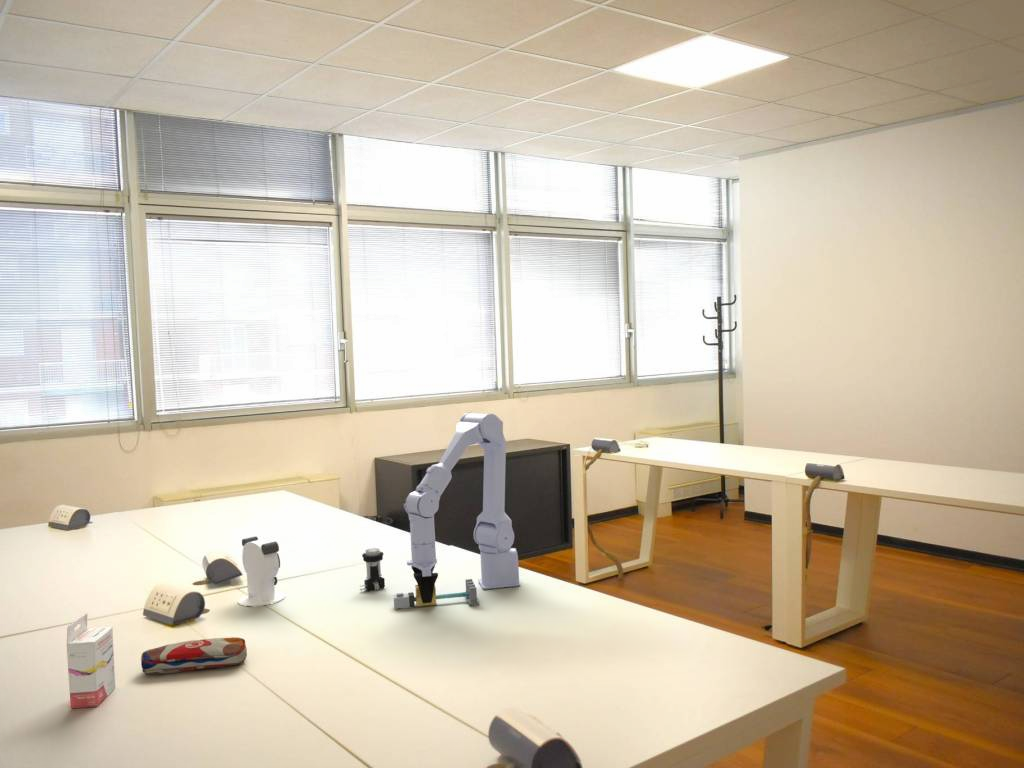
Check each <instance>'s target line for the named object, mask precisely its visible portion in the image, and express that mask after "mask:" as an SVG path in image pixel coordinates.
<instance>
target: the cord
mask: <svg viewBox="0 0 1024 768" xmlns="http://www.w3.org/2000/svg"><path fill="white" fill-rule="evenodd" d="M465 596H468V592H466V591H463V592H454V593H444V594H436V600H443V599H452V598H453V599H455V598H462V597H463V598H465ZM416 601H417V597H416V596H414V602H416Z"/></svg>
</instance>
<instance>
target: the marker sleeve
mask: <svg viewBox="0 0 1024 768" xmlns="http://www.w3.org/2000/svg"><path fill="white" fill-rule="evenodd" d="M414 585H415V586H414V587H415V597H417V601H415V605H416V606H417V608H418V607H429V606H436V605H437V599H436V595H437V593H436V591H437V590H436V584H435V585H434V590H433V597H432V602H431V603H422V599H421V595H420V590H419V586H418V584H414Z"/></svg>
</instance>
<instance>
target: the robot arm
mask: <svg viewBox="0 0 1024 768" xmlns="http://www.w3.org/2000/svg"><path fill="white" fill-rule="evenodd" d="M506 441H507V440H506V438H505V434H504V422H503V421H502V419H501V418H500V417H498V416H497V415H496V414H495V413H478V412H477V413H476V412H475V413H474V412H472V411H471V412H466V413H464V414H463V415H462V416H461V418H460V420H459V422H457V423H456V425H455V433H454V435H453V437H452V438H451V440H450V442H449V443H448V446H447V448H446V450H445V451H444V453H443V455H442V456H441V458H440V460H439V462H438V463H435V464H432V465H431V466H429V467H428V468H427V469H426V471H425V472H426V473H425V475H424V476H423V478H422V480H421V481H420V483H419V484H418V485H416V488H415V490H414V491H412V492H410V493H409V494H408V496H406V499H405V503H403V508H404V510H405V512H406V514H407V515H408V521H409V529H410V547H411V548H410V550H411V553H410V554H411V560H407V561H406V565H407V566H411V569H412V571H413V579H414V581H416V583H417V584H416V585H418V586H419V590H420V595H421V599H422V603H431V602H432V597H433V590H434V585H435V586H436V581H437V580H438V577H439V572H434V570H435V568H436V564H438V558H437V555H436V554H437V553H436V551H437V550H436V533H435V531H436V530H435V514H436V513H437V512H438V510H439V507H440V506H439V505H440V500H441V496H442V494H443V493H444V491H445V489H446V488H447V486H448V485H449V483H450V481H451V480H452V478H453V476H452V470H453V468H454V467H455V466H456V465H457V463H458V462H459V460H460V459H461V457H462V456H463V455H464V453H465V452H466V451H467V449H468V448H469V447H470V446H472V445H476V444H478V445H479V447H481V448H482V449H483V485H482V486H483V488H482V490H483V491H482V492H483V493H482V495H483V496H482V511H481V513H479V515H478V516H477V517H476V524H475V527H474V528H473V529H474V530H473V540H474V542H475V543H476V544H477V545H478V549H479V550H480V572H481V578H480V579H478V583H479V584H480V586H481V589H483V590H490V589H498V588H499V589H500V588H502V589H503V588H510V587H511V588H512V587H519V586H520V585H521V584H520V572H519V571H520V569H519V566H520V565H519V556H518V551H517V548H516V547H513V544H514V542H515V532H514V530H513V529H514V528H513V527H512V525H513V523H512V522H513V521H512V519H511V518H510V516H509V515H508V514H507V513H506V511H505V508H506V507H505V505H506V504H505V503H506V502H505V501H506V463H507V461H506V460H507V458H506V456H507V442H506Z"/></svg>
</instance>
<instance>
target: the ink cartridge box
mask: <svg viewBox="0 0 1024 768" xmlns="http://www.w3.org/2000/svg"><path fill="white" fill-rule="evenodd" d="M78 625H80V627H78V628H77V626H78ZM76 628H77V629H76ZM75 629H76V630H75ZM113 633H114V631H113V627H112V626H105V627H94V628H93V627H91V628H88V613H84V614H83V615H81V616H80V617H79V618H77V619H76V620H74V621H73V622H72V623H70V624H69V625H68V626H67V632H66V654H67V655H66V656H67V657H66V658H67V671H68V687H69V700H70V701H69V703H70V708H71V709H79V708H80V709H81V708H94V707H95V708H96V707H99V705H100V704H101V703H102V702H103V701H105V699H106V698H107V697H108V696H109V695H110V694H112V692H113V691H114V690H116V671H115V657H114V656H115V654H114V636H113Z"/></svg>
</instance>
